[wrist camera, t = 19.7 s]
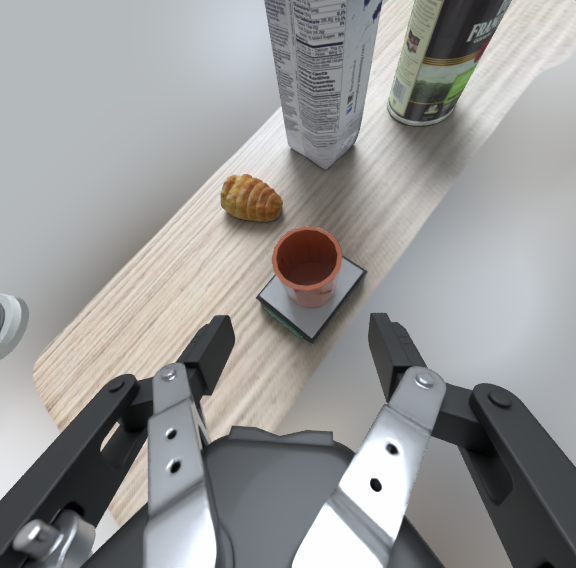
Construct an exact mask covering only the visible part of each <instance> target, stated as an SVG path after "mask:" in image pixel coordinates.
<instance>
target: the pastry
mask: <svg viewBox="0 0 576 568" xmlns="http://www.w3.org/2000/svg"><path fill="white" fill-rule="evenodd" d="M282 205H283V203H282V200H281V197H280V196H279V195H278V194H277V193H276V192H275V190H274V189H272V188H270V187H269V186H268V185H267V184H266V183H263V182H262V181H261V180H259V179H257V178H252V176H250V175H247V174H244V175H242V176H237V175H231V176H230V177H229V178H227V180H226V181H225V183H224V184H223V188H222V191H221V206H222V208H223V209H224V210H226V211H227V212H228V213H229V214H230V215H232V216H234V217H236V218H238V219H244V220H249V221H258V222H267V221H273V220H275V219H276V218H278V216H279V215H280V213H281V211H282Z"/></svg>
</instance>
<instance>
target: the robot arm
mask: <svg viewBox="0 0 576 568" xmlns="http://www.w3.org/2000/svg"><path fill="white" fill-rule="evenodd" d="M4 319H5V311H4V307H3V305H2V304H1V303H0V331H1V329H2V327H3V323H4ZM368 341H369V347H370V350H371V353H372V357H373V360H374V363H375V366H376V370H377V373H378V376H379V379H380V383H381V386H382V389H383V392H384V396H385V399H386V402H387V403H388V404H387V405H386V404H384V405H383V407H382V408H381V410H380V412H379V414H378V415H377V417H376V419H375V421H374V422H373V424H372V426H371V428H370V430H369V431H368V433H367V435H366V437H365V438H364V440H363V442H362V444H361V445H360V447H359V449H358V451H357V453H354V452H353V451H352V450H351V449H349V448H348V447H346V446H345V445H343V444H341V443H339V442H336V441H334V440H333V432H329V431H311V430H306V431H301V432H296V433H292V434H288V435H283V436H278V435H275V434H272V433H270V432H267V431H264V430H262V429H259V428H256V427H242V426H232V428H231V431H230V434H229V435H226V436H224V437H221V438H219V439H217V440H215V441H213V442H211V439H210V436H209V432H208V428H207V424H206V420H205V416H204V412H203V408H202V404H201V402H200V400H201V398H202V396H203V395H209V396H211V395H212V393H213V391H214V389H215V386H216V384H217V382H218V380H219V378H220V375H221V373H222V371H223V369H224V367H225V365H226V362H227V360H228V358H229V356H230V354H231V351H232V349H233V347H234V344H235V335H234V331H233V327H232V324H231V320H230V317H229V316H228V315H216V316H214V317H213V319H212V320H211V322H210V323H209V324H206V325H205V326H203V327H202V328H201V329H199V331H198V332H197V333H196V335H195V336H194V338H193V339H192V340H191V342H190V343H189V344H188V346H187V347H186V349H185V350H184V351H183V353H182V354H181V356H180V357H179V358H178V360H177V361H176V363H172V364H169V365H167V366H165V367H163V368H162V369H160V370H159V371H158V372H157V373H156V374H155V376H154V377H151V378H147V379H143V380H139V381H137V379H136V378H135V376H134V375H132V374H124V375H121V376H118V377H116V378H114V379H112V380H111V381H109V382H108V383H107V384H106V385H105V386H104V387H103V388H102V389H101V390H100V391H99V392H98V393H97V394H96V395H95V397H94V398H93V399H92V400H91V401H90V402H89V403H88V404H87V405H86V406H85V408H84V409H83V410H82V411H81V412H80V413H79V414H78V415H77V416H76V417H75V419H74V420H73V421H72V422H71V423H70V424H69V425H68V426H67V427H66V429H65V430H64V431H63V432H62V433H61V434H60V435H59V436H58V437H57V438H56V440H55V441H54V442H53V443H52V444H51V445H50V446H49V447H48V448H47V450H46V451H45V452H44V453H43V454H42V455H41V456H40V457H39V458H38V459H37V460H36V462H35V463H34V464H33V465H32V466H31V467H30V468H29V469H28V471H27V472H26V473H25V474H24V475H23V476H22V477H21V478H20V479H19V480H18V481H17V483H16V484H15V485H14V486H13V487H12V488H11V489H10V490H9V492H8V493H7V494H6V495H5V496H4V497H3V498H2V499H1V500H0V568H445V567H444V565H443V564H442V563H441V561H440V560H439V559H438V557H437V556H436V555H435V554H434V552H433V551H432V550H431V548H430V547H429V546H428V545H427V543H426V542H425V541H424V539H423V538H422V537H421V535H420V534H419V533H418V531H417V530H416V529H415V528H414V526H413V525H412V524H411V522H410V521H409V520H408V519H407V517H406V516H405V515H404V513H405V510H406V507H407V504H408V501H409V498H410V495H411V492H412V489H413V486H414V484H415V481H416V478H417V475H418V472H419V469H420V466H421V463H422V460H423V457H424V454H425V451H426V448H427V445H428V442H429V439H430V436H433V437H436V438H439V439H441V440H444V441H447V442H449V443H452V444H455V445H457V446H458V448H459V450H460V452H461V454H462V457H463V459H464V461H465V463H466V465H467V468H468V470H469V472H470V474H471V477H472V479H473V481H474V483H475V485H476V487H477V490H478V491H479V494H480V496H481V498H482V501H483V503H484V505H485V507H486V509H487V511H488V514H489V516H490V518H491V520H492V522H493V525H494V527H495V529H496V531H497V533H498V536H499V538H500V540H501V542H502V544H503V546H504V549H505V551H506V552H507V555H508V557H509V559H510V562H511V564H512V566H513V568H576V467H575V466H574V465H573V463H572V462H571V461H570V460H569V459H568V457H567V456H566V455H565V454H564V452H563V451H562V450H561V449H560V448H559V447H558V445H557V444H556V443H555V441H554V440H553V439H552V438H551V437H550V435H549V434H548V433H547V432H546V430H545V429H544V428H543V427H542V426H541V424H540V423H539V422H538V421H537V419H536V418H535V417H534V416H533V415H532V413H531V412H530V411H529V410H528V408H527V407H526V406H525V405H524V404H523V402H522V401H521V400H520V399H519V398H517V397H516V396H515V395H514V394H513V393H511V392H509V391H508V390H506V389H504V388H502V387H499V386H496V385H493V384H488V383H487V384H486V383H482V384H478V385H476V386H475V387H474V389H473V390H469V389H465V388H462V387H457V386H454V385H451V384H448V383H445V382H444V380H443V379H442V378H441V377H440V376H439V375H438V374H437V373H435V372H434V371H432V370H430V369H428V368H427V366H426V364H425V362H424V360H423V359H422V357H421V355H420V353H419V352H418V350H417V348H416V346H415V345H414V344H413V341H412V339H411V338H410V336H409V334H408V332H407V331H406V329H405V328H404V327H403V326H401V325H400V324H399V323H398V322H391V321H390V320H389V317H388V315H387V314H386V313H371V314H370V323H369V333H368ZM116 422H118V423H119V424H120V426H119V427H118V428H117V430H116V431H115V433H114V434H113V435H112V437H111V438H110V440H109V441H108V443H107V444H106V445H105V447H104V448H103V450H102V451H101V452H100V448H101V444H102V442H103V440H104V438H105V437H106V436H107V434H108V433H109V431H110V430H111V429H112V427H113V426H114V425H115V423H116ZM147 437H148V502H147V503H146V504H145V505H144V506H143V507H142V508H141V509H140V510H139V511H138V512H137V513H135V514H134V515H133V516H132V517H131V518H130V519H129V520H128V521H127V522H126V523H125V524H124V525H123V526H122V527H121V528H120V529H119V530H118V531H117V532H116V533H115V534H114V535H113V536H112V537H111V538H109V540H107V541H106V543H104V544H103V545H102V546H101V547H100V548H99V549H98V550H97V551H96V552H95V553H94V554H92V550H91V549H92V546H93V544H94V540H95V529H96V527H97V525H98V523H99V521H100V520H101V518H102V516H103V515H104V512H105V511H106V509H107V508H108V506H109V504H110V502H111V501H112V499H113V497H114V495H115V494H116V492H117V490H118V488H119V487H120V485H121V483H122V481H123V480H124V478H125V476H126V474H127V472H128V471H129V469H130V467H131V465H132V464H133V462H134V460H135V458H136V457H137V455H138V453H139V451H140V450H141V448H142V446H143V444H144V443H145V441H146V439H147Z"/></svg>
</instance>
